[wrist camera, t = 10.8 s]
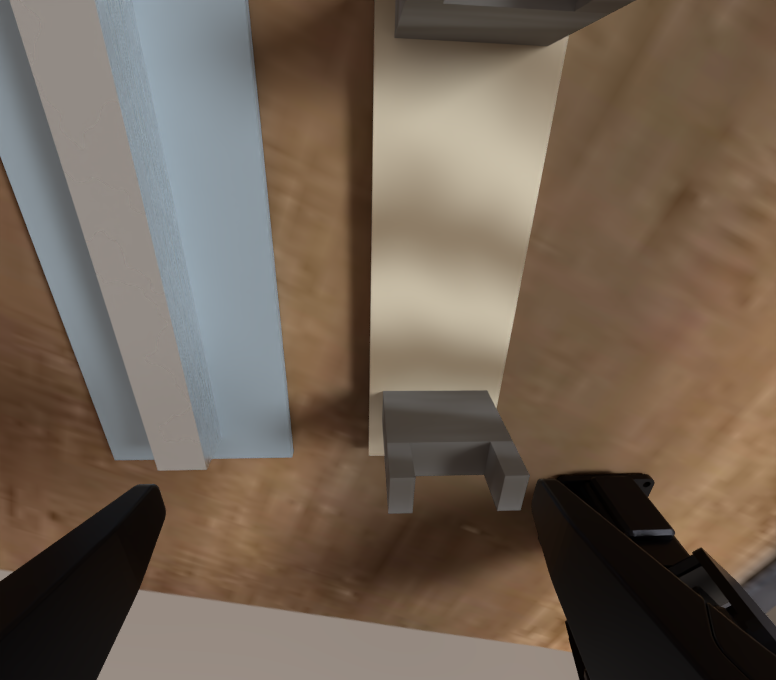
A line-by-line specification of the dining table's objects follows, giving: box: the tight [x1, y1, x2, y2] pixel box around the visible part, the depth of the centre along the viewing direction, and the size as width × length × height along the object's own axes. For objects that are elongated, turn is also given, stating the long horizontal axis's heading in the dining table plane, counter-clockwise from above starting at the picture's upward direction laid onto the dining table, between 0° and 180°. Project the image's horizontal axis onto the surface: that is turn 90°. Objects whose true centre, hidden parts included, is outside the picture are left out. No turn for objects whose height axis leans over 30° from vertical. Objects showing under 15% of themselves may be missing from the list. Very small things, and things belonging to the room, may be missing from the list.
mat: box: [0, 0, 294, 460], centre depth 17 cm, size 25×10×1 cm, turn 178°
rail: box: [10, 0, 222, 471], centre depth 16 cm, size 22×2×2 cm, turn 178°
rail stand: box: [369, 0, 635, 514], centre depth 15 cm, size 24×7×7 cm, turn 178°
